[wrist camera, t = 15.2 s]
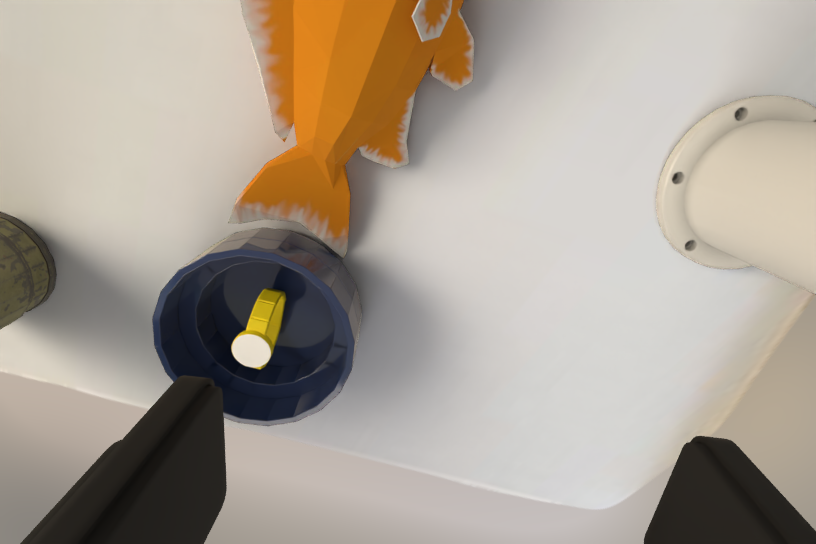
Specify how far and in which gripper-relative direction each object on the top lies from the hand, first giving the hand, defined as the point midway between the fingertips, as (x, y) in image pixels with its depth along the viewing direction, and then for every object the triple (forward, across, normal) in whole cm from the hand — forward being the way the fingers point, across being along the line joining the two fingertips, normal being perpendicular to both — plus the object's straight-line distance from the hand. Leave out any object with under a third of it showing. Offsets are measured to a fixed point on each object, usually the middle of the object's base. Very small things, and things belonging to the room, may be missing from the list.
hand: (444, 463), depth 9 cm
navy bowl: (+26, +11, +10) cm, 30 cm away
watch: (+25, +11, +10) cm, 30 cm away
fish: (+26, +6, -9) cm, 28 cm away
